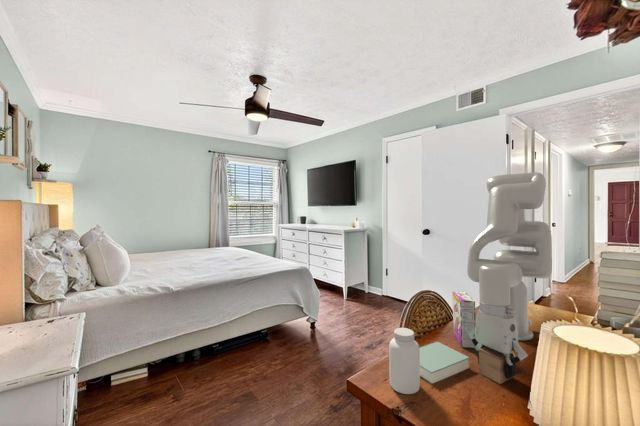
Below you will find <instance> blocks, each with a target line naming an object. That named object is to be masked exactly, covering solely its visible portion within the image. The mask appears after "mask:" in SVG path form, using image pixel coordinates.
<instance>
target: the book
mask: <svg viewBox="0 0 640 426" xmlns="http://www.w3.org/2000/svg"><path fill="white" fill-rule="evenodd" d="M419 348H420V378H422V379H424V380H425V381H426V382H427V383H429V384H430V385H434V384H436V383H438V382H440V381H443V380H445V379H447V378H449V377H452V376H455V375H458V374H459V373H461V372H464V371H467V370H468V369H470V356H468V355H465V354H464V353H462V352H460V351H458V350H455V349H453V348H451V347H450V346H447V345H446V344H443V343H441V342H439V341H436V340H435V341H433V342H431V343H427V344H425V345H421V346H419Z"/></svg>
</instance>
